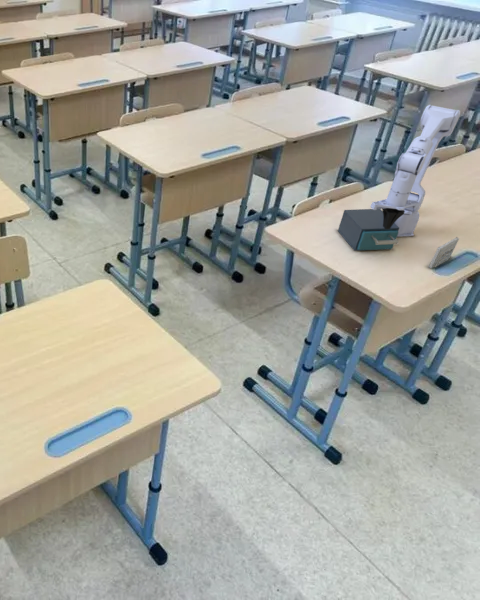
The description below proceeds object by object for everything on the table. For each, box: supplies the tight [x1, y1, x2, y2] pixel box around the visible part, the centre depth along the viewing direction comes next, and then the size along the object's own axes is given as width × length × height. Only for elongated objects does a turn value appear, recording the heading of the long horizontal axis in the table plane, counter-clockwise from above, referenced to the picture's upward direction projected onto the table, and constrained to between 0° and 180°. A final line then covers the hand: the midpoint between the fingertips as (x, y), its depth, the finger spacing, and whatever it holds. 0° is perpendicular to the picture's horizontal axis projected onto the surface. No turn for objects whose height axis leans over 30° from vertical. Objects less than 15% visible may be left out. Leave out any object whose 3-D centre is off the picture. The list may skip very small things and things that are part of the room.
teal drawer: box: [357, 230, 399, 251], centre depth 190 cm, size 17×12×7 cm
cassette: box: [428, 236, 460, 269], centre depth 182 cm, size 12×2×8 cm, turn 124°
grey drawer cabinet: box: [337, 208, 399, 252], centre depth 193 cm, size 14×13×9 cm
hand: (386, 227), depth 182 cm, fingers closed
